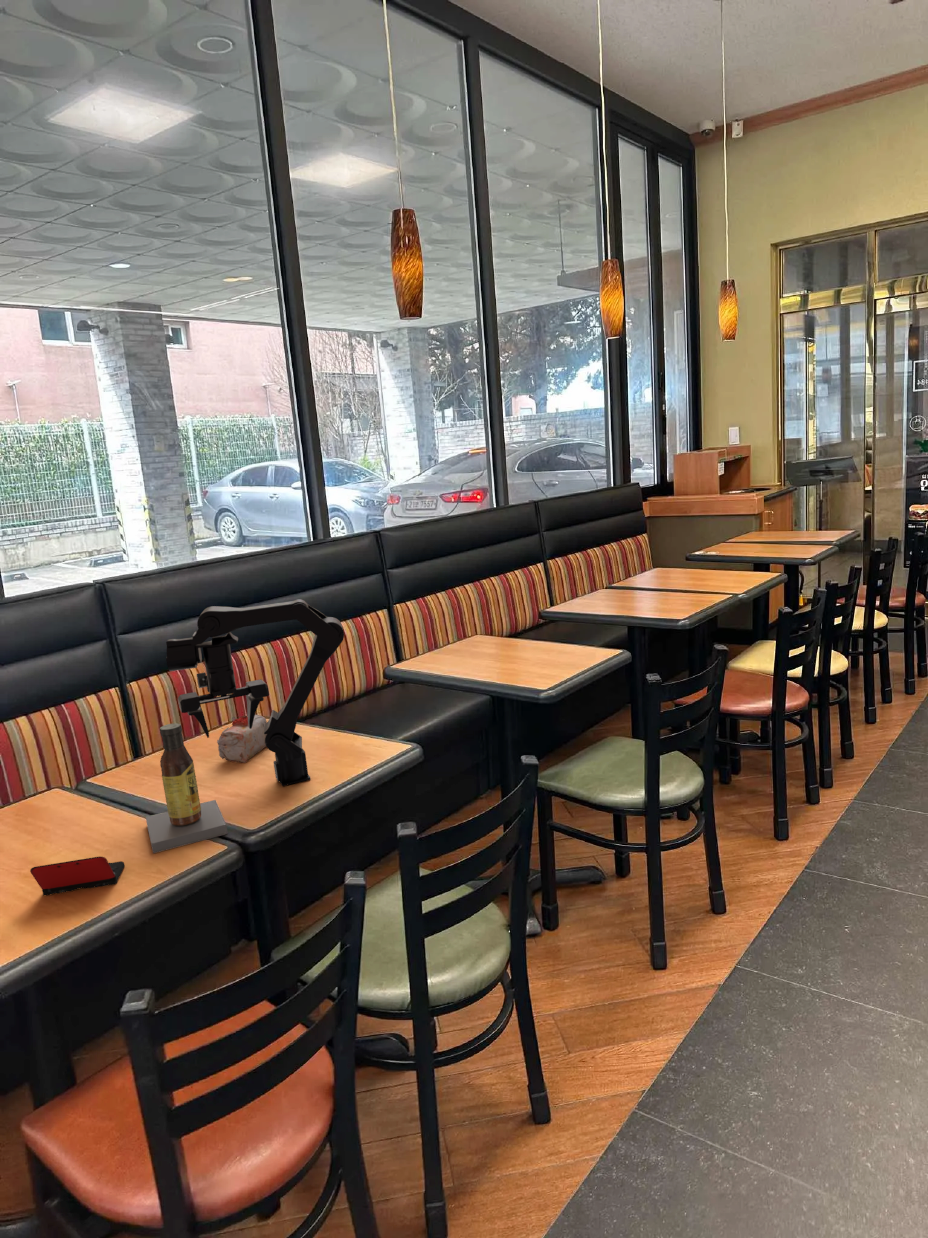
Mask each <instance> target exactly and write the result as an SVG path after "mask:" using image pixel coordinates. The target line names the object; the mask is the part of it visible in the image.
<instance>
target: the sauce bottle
mask: <svg viewBox="0 0 928 1238" xmlns="http://www.w3.org/2000/svg"><path fill="white" fill-rule="evenodd" d="M182 732H183V728H182V724H181V723H176V722H174V723H168V724H165V725H162V726H160V728H159V733H160V734H159V735H160V736H161V738H162V743H163V744H162V745H163V753H162V755H161V756H160V757H161V758H160V762H159V763H160V764H159V765H160V768H161V780H162V785H163V791H164V795H165V802H166V808H167V811H168V814H169V817H170V822H171V824H173V825H175V826H184V825H189V824H192V823H194V822H196V821H197V820H199V819H200V818H201V805H200V803H201V800H200V795H199V794H200V793H199V789H198V783H197V778H196V777H197V776H196V770H195V764H194V763H195V762H194V760H193V758H192V756H191V755H190V753H189V751H188V750H187V747H186V746H185V744H184V740H183V735H182Z"/></svg>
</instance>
